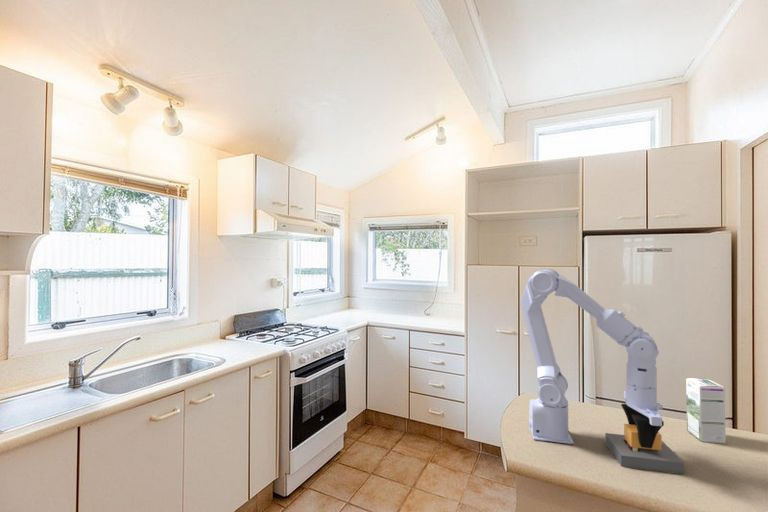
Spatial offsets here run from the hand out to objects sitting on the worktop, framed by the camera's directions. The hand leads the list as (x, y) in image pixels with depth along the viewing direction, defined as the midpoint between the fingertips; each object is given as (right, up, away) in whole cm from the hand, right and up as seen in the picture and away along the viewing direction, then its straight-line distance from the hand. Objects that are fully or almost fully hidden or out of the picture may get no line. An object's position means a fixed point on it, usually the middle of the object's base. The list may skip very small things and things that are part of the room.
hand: (641, 441), depth 82 cm
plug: (0, -3, 0) cm, 3 cm away
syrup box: (+23, -4, +8) cm, 25 cm away
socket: (0, -4, 0) cm, 4 cm away
